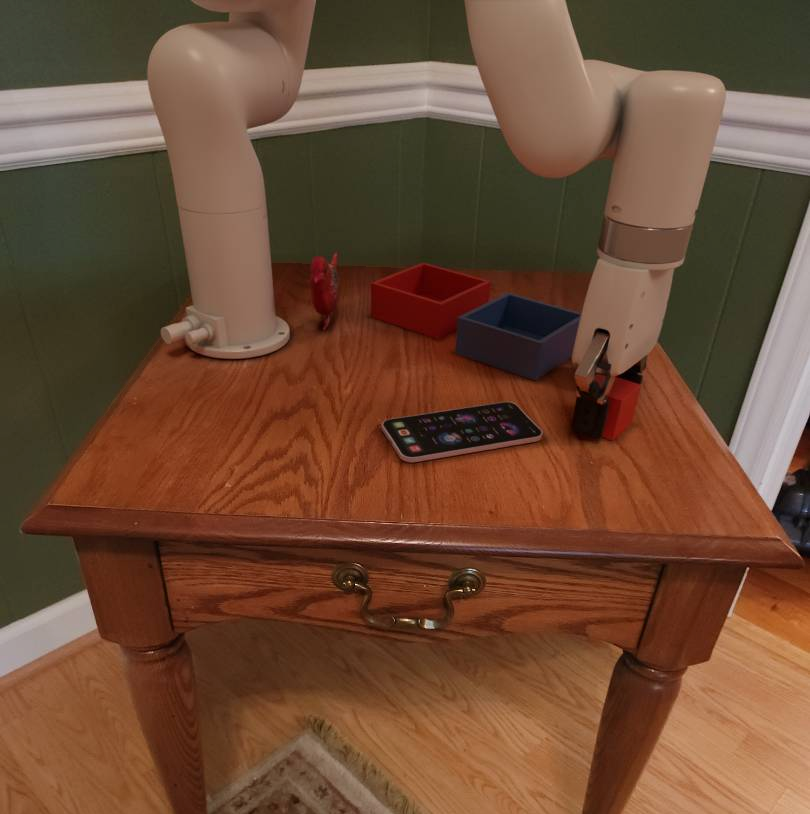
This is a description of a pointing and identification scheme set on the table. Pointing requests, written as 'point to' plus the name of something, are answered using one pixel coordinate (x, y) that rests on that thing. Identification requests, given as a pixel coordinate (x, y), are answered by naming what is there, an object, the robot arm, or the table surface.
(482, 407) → the smartphone
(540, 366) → the blue bin
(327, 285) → the decorative bird figurine
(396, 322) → the red bin
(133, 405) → the table surface
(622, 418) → the red block
